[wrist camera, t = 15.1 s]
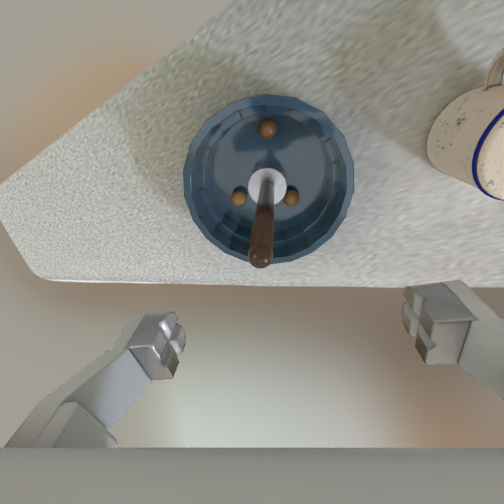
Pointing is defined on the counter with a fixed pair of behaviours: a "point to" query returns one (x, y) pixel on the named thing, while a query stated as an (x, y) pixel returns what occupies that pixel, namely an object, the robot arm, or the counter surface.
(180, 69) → the counter surface
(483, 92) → the teacup with lid
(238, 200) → the bead
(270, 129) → the bead
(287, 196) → the bead
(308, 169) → the bowl
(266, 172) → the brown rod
